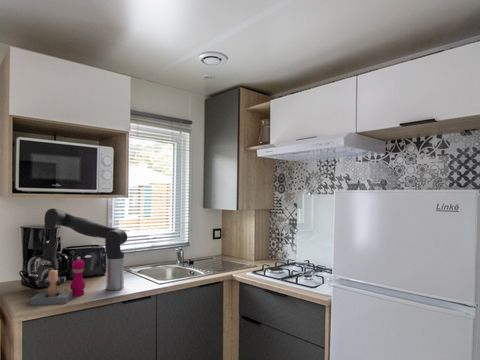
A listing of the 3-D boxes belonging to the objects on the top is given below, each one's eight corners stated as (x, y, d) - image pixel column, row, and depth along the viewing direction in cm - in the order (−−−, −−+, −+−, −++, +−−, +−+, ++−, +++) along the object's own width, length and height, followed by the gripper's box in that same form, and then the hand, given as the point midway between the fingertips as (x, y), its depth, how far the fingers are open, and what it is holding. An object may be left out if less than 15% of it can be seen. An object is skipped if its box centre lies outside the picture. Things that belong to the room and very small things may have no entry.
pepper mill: (71, 297, 176) (72, 258, 177) (68, 293, 182) (70, 256, 183) (86, 295, 181) (87, 257, 181) (83, 291, 186) (84, 255, 187)
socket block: (72, 297, 176) (72, 291, 176) (66, 303, 166) (66, 297, 167) (39, 298, 174) (39, 292, 174) (30, 304, 164) (30, 298, 164)
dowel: (58, 297, 172) (59, 270, 173) (55, 300, 168) (56, 271, 169) (49, 298, 172) (50, 270, 172) (46, 300, 168) (47, 272, 168)
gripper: (34, 271, 178) (37, 278, 164) (64, 268, 186) (69, 274, 172) (34, 285, 178) (36, 294, 164) (64, 282, 186) (69, 289, 172)
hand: (53, 284), depth 168 cm, fingers closed on dowel, 4 cm apart
